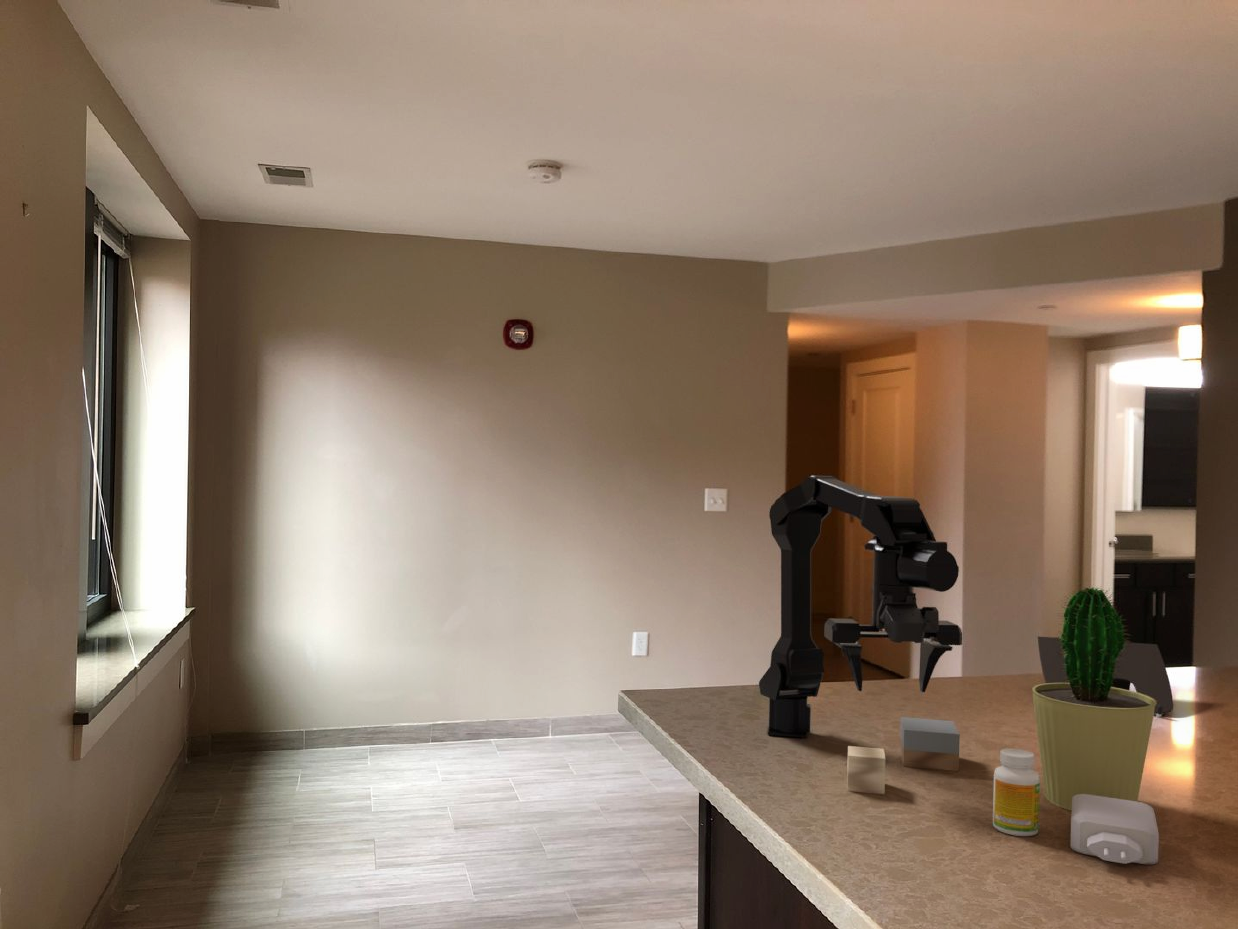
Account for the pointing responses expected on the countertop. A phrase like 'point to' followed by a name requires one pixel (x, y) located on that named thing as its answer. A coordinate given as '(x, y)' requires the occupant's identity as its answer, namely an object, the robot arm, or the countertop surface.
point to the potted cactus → (1091, 710)
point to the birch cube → (866, 770)
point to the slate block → (929, 735)
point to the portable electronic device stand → (1137, 668)
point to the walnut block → (929, 759)
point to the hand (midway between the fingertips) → (891, 691)
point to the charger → (1114, 829)
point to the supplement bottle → (1016, 794)
